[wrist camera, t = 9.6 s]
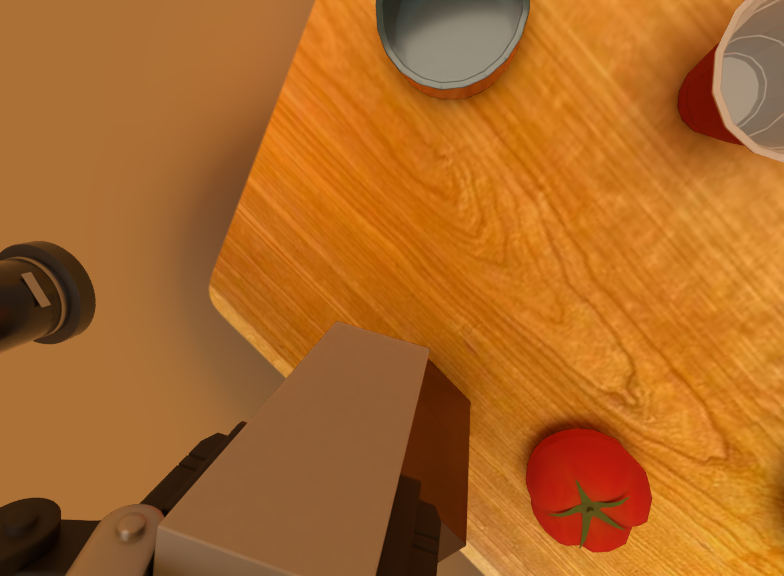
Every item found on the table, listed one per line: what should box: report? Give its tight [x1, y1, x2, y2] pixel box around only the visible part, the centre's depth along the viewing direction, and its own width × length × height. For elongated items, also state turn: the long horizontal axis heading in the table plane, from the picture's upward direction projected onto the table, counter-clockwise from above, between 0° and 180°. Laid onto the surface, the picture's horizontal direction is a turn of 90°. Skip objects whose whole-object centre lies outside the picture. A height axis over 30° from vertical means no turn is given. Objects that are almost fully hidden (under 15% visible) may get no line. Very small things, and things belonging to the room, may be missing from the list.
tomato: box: [526, 428, 652, 552], centre depth 42 cm, size 11×11×8 cm
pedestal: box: [400, 359, 470, 563], centre depth 38 cm, size 8×7×18 cm
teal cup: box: [376, 0, 530, 100], centre depth 34 cm, size 11×11×6 cm
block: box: [153, 321, 430, 576], centre depth 14 cm, size 4×4×11 cm
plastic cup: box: [678, 0, 784, 162], centre depth 29 cm, size 11×11×12 cm
